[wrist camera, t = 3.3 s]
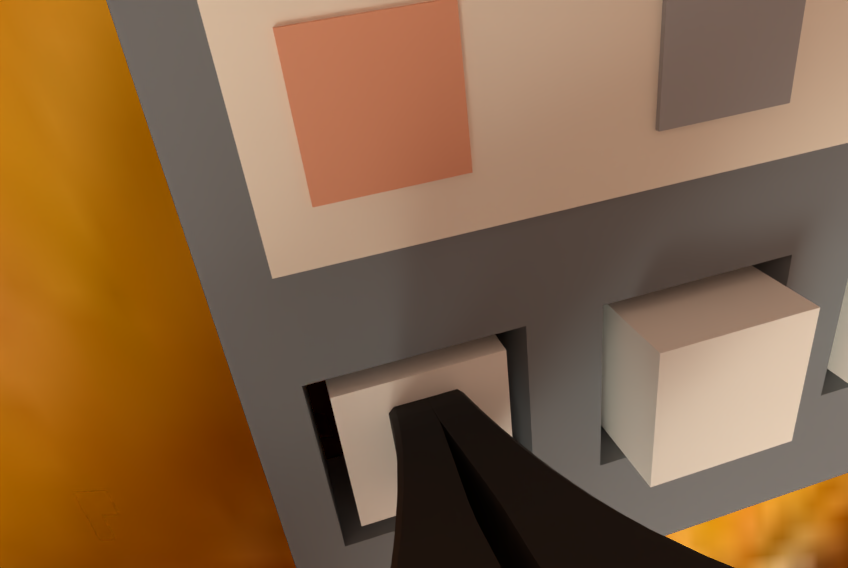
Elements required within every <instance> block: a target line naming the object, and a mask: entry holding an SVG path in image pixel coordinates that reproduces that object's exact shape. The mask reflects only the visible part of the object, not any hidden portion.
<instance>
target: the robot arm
mask: <svg viewBox="0 0 848 568" xmlns="http://www.w3.org/2000/svg"><path fill="white" fill-rule="evenodd" d="M389 419H390V424H391V429H392V434H393V439H394V444H395V450H396V455H397V507H396V521H395V535H394V544H393V553H392V560H391V568H734V567H731V566H729V565H726V564H724V563H722V562H719V561H717V560H714V559H712V558H709V557H707V556H705V555H703V554H700V553H698V552H696V551H694V550H692V549H690V548H688V547H686V546H684V545H682V544H680V543H678V542H676V541H673V540H671V539H669V538H667V537H665V536H663V535H661V534H659V533H657V532H655V531H653V530H651V529H649V528H647V527H645V526H643V525H642V524H640V523H638V522H636V521H634V520H633V519H631V518H629V517H627V516H625V515H623V514H622V513H620V512H618V511H617V510H615V509H613V508H612V507H610V506H608V505H607V504H605V503H603V502H602V501H600V500H598V499H597V498H595V497H594V496H592V495H591V494H589V493H587V492H586V491H584V490H583V489H581V488H580V487H578V486H577V485H575V484H574V483H572V482H571V481H570V480H568V479H567V478H565V477H564V476H562V475H561V474H560V473H558V472H557V471H555V470H554V469H553V468H551V467H550V466H549V465H547V464H546V463H545V462H543V461H542V460H541V459H539V458H538V457H537V456H535V455H534V454H533V453H532V452H530V451H529V450H528V449H527V448H525V447H524V446H523V445H522V444H520V443H519V442H518V441H517V440H515V439H514V438H513V437H512V436H510V435H509V434H508V433H507V432H506V431H504V430H503V429H502V428H501V427H500V426H499V425H498V424H497V423H495V422H494V421H493V420H492V419H491V418H490V417H489V416H488V415H486V414H485V413H484V412H483V411H482V410H481V409H480V408H479V407H478V406H477V405H476V404H475V403H474V402H473V401H472V400H471V399H469V398H468V397H467V396H466V395H465V394H464V393H463V392H462V391H460V390H458V389H455V390H452V391H448V392H445V393H441V394H438V395H435V396H431V397H427V398H424V399H420V400H417V401H413V402H410V403H406V404H403V405H399V406H395V407H393V408H392V410H391V411H390V412H389Z"/></svg>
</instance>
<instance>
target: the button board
mask: <svg viewBox="0 0 848 568" xmlns="http://www.w3.org/2000/svg"><path fill="white" fill-rule="evenodd" d="M106 1H107V4H108V7H109V10H110V13H111V16H112V19H113V22H114V25H115V28H116V31H117V34H118V37H119V40H120V43H121V46H122V49H123V52H124V55H125V58H126V61H127V64H128V67H129V70H130V73H131V76H132V79H133V82H134V85H135V88H136V91H137V94H138V97H139V100H140V103H141V106H142V109H143V112H144V115H145V118H146V121H147V124H148V127H149V130H150V133H151V136H152V139H153V142H154V145H155V148H156V151H157V154H158V157H159V160H160V163H161V166H162V169H163V172H164V175H165V177H166V180H167V183H168V186H169V189H170V192H171V195H172V198H173V201H174V204H175V207H176V210H177V213H178V216H179V219H180V222H181V225H182V228H183V231H184V234H185V237H186V240H187V243H188V246H189V249H190V252H191V255H192V258H193V261H194V264H195V267H196V270H197V273H198V276H199V279H200V282H201V285H202V288H203V291H204V294H205V297H206V300H207V303H208V306H209V309H210V312H211V315H212V318H213V321H214V324H215V327H216V330H217V333H218V336H219V339H220V342H221V345H222V348H223V351H224V354H225V357H226V360H227V363H228V366H229V369H230V372H231V375H232V378H233V381H234V384H235V387H236V390H237V393H238V396H239V399H240V401H241V404H242V407H243V410H244V413H245V416H246V419H247V422H248V425H249V428H250V431H251V434H252V437H253V440H254V443H255V446H256V449H257V452H258V455H259V458H260V461H261V464H262V467H263V470H264V473H265V476H266V479H267V482H268V485H269V488H270V491H271V494H272V497H273V500H274V503H275V506H276V509H277V512H278V515H279V518H280V521H281V524H282V527H283V530H284V533H285V536H286V539H287V542H288V545H289V548H290V551H291V554H292V557H293V560H294V563H295V566H296V568H391V560H392V553H393V544H394V535H395V521H396V516H393V517H390V518H387V519H384V520H381V521H377V522H374V523H371V524H368V525H365V526H361V522H360V518H359V514H358V510H357V506H356V502H355V498H354V494H353V490H352V486H351V482H350V478H349V474H348V470H347V466H346V462H345V458H344V455H341V456H338V457H334V458H331V459H327V460H326V456H325V453H324V449H323V445H322V441H321V438H320V434H319V430H318V426H317V422H316V419H315V415H314V411H313V407H312V404H311V400H310V396H309V392H308V389H307V385H308V384H312V383H315V382H319V381H323V380H327V379H330V378H334V377H338V376H342V375H345V374H349V373H353V372H356V371H360V370H364V369H368V368H371V367H375V366H379V365H383V364H386V363H390V362H394V361H397V360H401V359H405V358H409V357H412V356H416V355H420V354H423V353H427V352H431V351H435V350H438V349H442V348H446V347H450V346H453V345H457V344H461V343H464V342H468V341H472V340H476V339H479V338H483V337H487V336H491V335H494V334H495V335H496V336H497V338H498V339H499V341H500V342H501V343H502V345H503V346H504V348H505V349H506V354H507V368H508V382H509V396H510V410H511V424H512V437H513V438H514V439H515V440H517V441H518V442H519V443H520V444H522V445H523V446H524V447H525V448H527V449H528V450H529V451H530V452H532V453H533V454H534V455H535V456H537V457H538V458H539V459H541V460H542V461H543V462H545V463H546V464H547V465H549V466H550V467H551V468H553V469H554V470H555V471H557V472H558V473H560V474H561V475H562V476H564V477H565V478H567V479H568V480H570V481H571V482H572V483H574V484H575V485H577V486H578V487H580V488H581V489H583V490H584V491H586V492H587V493H589V494H591V495H592V496H594V497H595V498H597V499H598V500H600V501H602V502H603V503H605V504H607V505H608V506H610V507H612V508H613V509H615V510H617V511H618V512H620V513H622V514H623V515H625V516H627V517H629V518H631V519H633V520H634V521H636V522H638V523H640V524H642V525H643V526H645V527H647V528H649V529H651V530H653V531H655V532H657V533H659V534H661V535H663V536H666V535H669V534H672V533H675V532H677V531H680V530H683V529H686V528H689V527H692V526H695V525H698V524H701V523H703V522H706V521H709V520H712V519H715V518H718V517H721V516H724V515H727V514H729V513H732V512H735V511H738V510H741V509H744V508H747V507H750V506H753V505H756V504H758V503H761V502H764V501H767V500H770V499H773V498H776V497H779V496H782V495H784V494H787V493H790V492H793V491H796V490H799V489H802V488H805V487H808V486H811V485H813V484H816V483H819V482H822V481H825V480H828V479H831V478H834V477H837V476H839V475H842V474H845V473H848V383H847V382H845V381H844V380H843V379H841V378H840V377H838V376H837V375H835V374H834V373H833V372H831V371H830V370H828V369H827V367H828V363H829V358H830V354H831V350H832V345H833V341H834V337H835V333H836V328H837V324H838V320H839V315H840V311H841V307H842V302H843V298H844V294H845V289H846V285H847V281H848V0H106ZM751 265H752V266H753V267H755V268H757V269H758V270H760V271H762V272H763V273H765V274H766V275H768V276H770V277H771V278H773V279H775V280H776V281H778V282H780V283H781V284H783V285H784V286H786V287H788V288H789V289H791V290H793V291H794V292H796V293H798V294H799V295H801V296H803V297H804V298H806V299H807V300H809V301H811V302H812V303H814V304H816V305H817V306H819V307H820V311H819V316H818V320H817V325H816V330H815V334H814V339H813V344H812V348H811V353H810V358H809V363H808V367H807V372H806V377H805V381H804V386H803V391H802V395H801V400H800V405H799V409H798V414H797V419H796V424H795V428H794V433H793V438H792V441H790V442H787V443H784V444H781V445H778V446H775V447H772V448H769V449H766V450H763V451H760V452H757V453H754V454H751V455H748V456H745V457H742V458H738V459H735V460H732V461H729V462H726V463H723V464H720V465H717V466H714V467H711V468H708V469H705V470H702V471H699V472H696V473H693V474H690V475H687V476H684V477H681V478H678V479H675V480H672V481H669V482H666V483H662V484H659V485H656V486H653V487H650V486H649V485H648V484H647V482H646V481H645V480H644V479H643V477H642V476H641V475H640V474H639V472H638V471H637V470H636V469H635V467H634V466H633V465H632V464H631V462H630V461H629V460H628V459H627V457H626V456H625V455H624V453H623V452H622V451H621V450H620V448H619V447H618V446H617V445H616V443H615V442H614V441H613V440H612V438H611V437H610V436H609V435H608V433H607V432H606V431H605V430H604V428H603V427H602V426H601V396H602V342H603V305H606V304H610V303H613V302H617V301H621V300H625V299H628V298H632V297H636V296H640V295H643V294H647V293H651V292H654V291H658V290H662V289H666V288H669V287H673V286H677V285H681V284H684V283H688V282H692V281H695V280H699V279H703V278H707V277H710V276H714V275H718V274H721V273H725V272H729V271H733V270H736V269H740V268H744V267H748V266H751Z"/></svg>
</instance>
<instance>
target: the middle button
mask: <svg viewBox="0 0 848 568" xmlns="http://www.w3.org/2000/svg"><path fill="white" fill-rule="evenodd" d="M819 311H820V307H819V306H817V305H816V304H814V303H812V302H811V301H809V300H807V299H806V298H804V297H803V296H801V295H799V294H798V293H796V292H794V291H793V290H791V289H789V288H788V287H786V286H784V285H783V284H781V283H780V282H778V281H776V280H775V279H773V278H771V277H770V276H768V275H766V274H765V273H763V272H762V271H760V270H758V269H757V268H755V267H753V266H752V265H751V266H748V267H744V268H740V269H736V270H733V271H729V272H725V273H721V274H718V275H714V276H710V277H707V278H703V279H699V280H695V281H692V282H688V283H684V284H681V285H677V286H673V287H669V288H666V289H662V290H658V291H654V292H651V293H647V294H643V295H640V296H636V297H632V298H628V299H625V300H621V301H617V302H613V303H610V304H606V305H603V342H602V396H601V426H602V427H603V428H604V430H605V431H606V432H607V433H608V435H609V436H610V437H611V438H612V440H613V441H614V442H615V443H616V445H617V446H618V447H619V448H620V450H621V451H622V452H623V453H624V455H625V456H626V457H627V459H628V460H629V461H630V462H631V464H632V465H633V466H634V467H635V469H636V470H637V471H638V472H639V474H640V475H641V476H642V477H643V479H644V480H645V481H646V482H647V484H648V485H649V486H650V487H653V486H656V485H659V484H662V483H666V482H669V481H672V480H675V479H678V478H681V477H684V476H687V475H690V474H693V473H696V472H699V471H702V470H705V469H708V468H711V467H714V466H717V465H720V464H723V463H726V462H729V461H732V460H735V459H738V458H742V457H745V456H748V455H751V454H754V453H757V452H760V451H763V450H766V449H769V448H772V447H775V446H778V445H781V444H784V443H787V442H790V441H792V438H793V433H794V428H795V424H796V419H797V414H798V409H799V405H800V400H801V395H802V391H803V386H804V381H805V377H806V372H807V367H808V363H809V358H810V353H811V348H812V344H813V339H814V334H815V330H816V325H817V320H818V316H819Z"/></svg>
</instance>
